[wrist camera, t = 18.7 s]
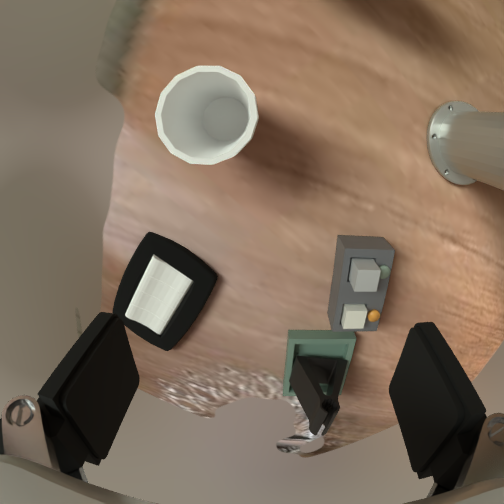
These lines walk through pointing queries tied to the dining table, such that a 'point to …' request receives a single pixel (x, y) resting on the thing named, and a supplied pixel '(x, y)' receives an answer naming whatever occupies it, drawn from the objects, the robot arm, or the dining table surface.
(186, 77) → the foam cup
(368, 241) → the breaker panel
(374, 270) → the block
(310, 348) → the tray
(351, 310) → the block
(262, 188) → the dining table surface
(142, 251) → the light switch
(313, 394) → the phone stand
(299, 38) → the dining table surface
